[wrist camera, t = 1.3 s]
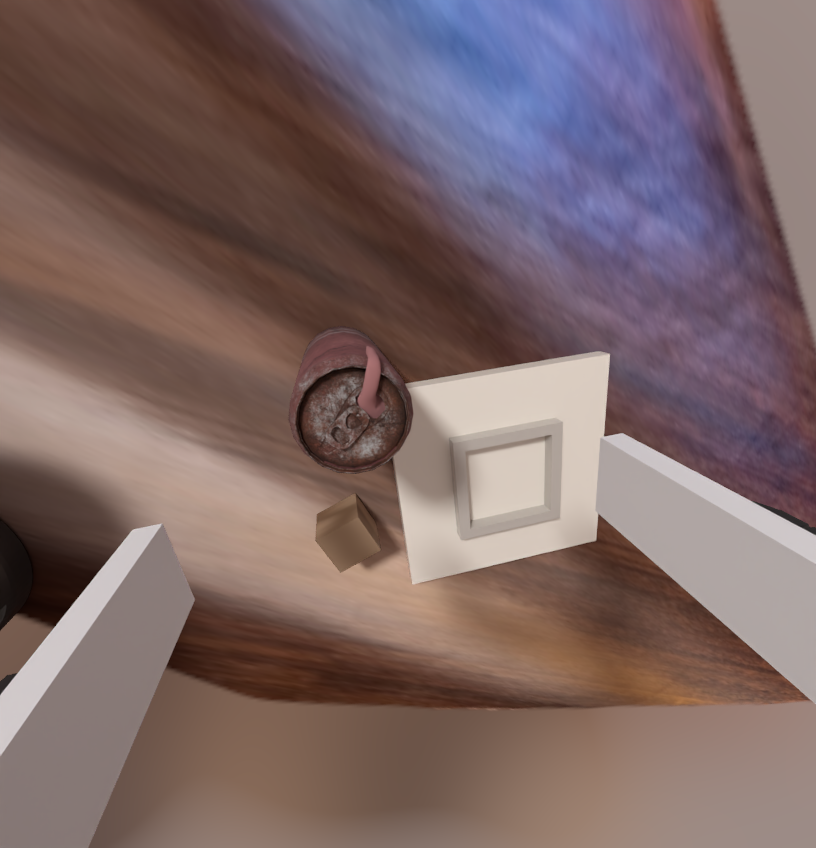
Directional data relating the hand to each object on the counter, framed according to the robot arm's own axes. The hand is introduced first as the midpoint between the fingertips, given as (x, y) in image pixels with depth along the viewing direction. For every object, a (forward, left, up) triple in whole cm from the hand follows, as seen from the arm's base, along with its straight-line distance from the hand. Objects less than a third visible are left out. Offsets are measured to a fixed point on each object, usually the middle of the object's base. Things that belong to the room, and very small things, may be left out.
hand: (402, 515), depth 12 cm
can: (-1, +1, -22) cm, 22 cm away
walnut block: (-3, -14, -22) cm, 26 cm away
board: (+12, -12, -21) cm, 27 cm away
